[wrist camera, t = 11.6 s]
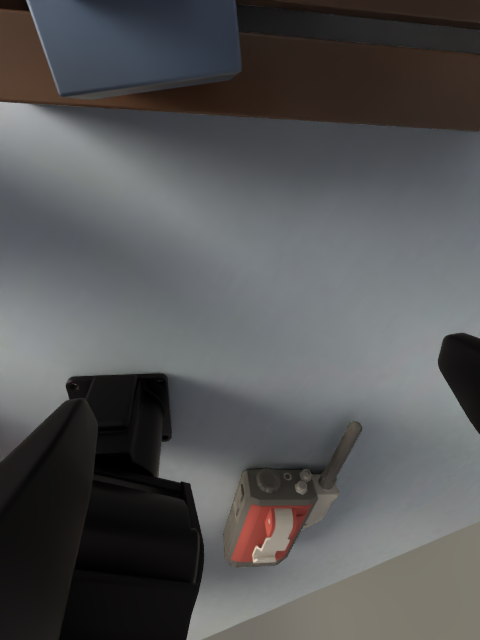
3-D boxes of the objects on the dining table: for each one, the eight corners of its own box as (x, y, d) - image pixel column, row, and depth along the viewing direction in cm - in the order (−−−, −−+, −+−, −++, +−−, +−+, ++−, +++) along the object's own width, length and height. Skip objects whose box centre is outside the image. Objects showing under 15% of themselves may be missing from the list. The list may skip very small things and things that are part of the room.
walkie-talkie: (295, 537, 38) (362, 410, 28) (307, 584, 34) (389, 457, 24) (218, 540, 36) (260, 405, 26) (221, 589, 32) (271, 455, 22)
